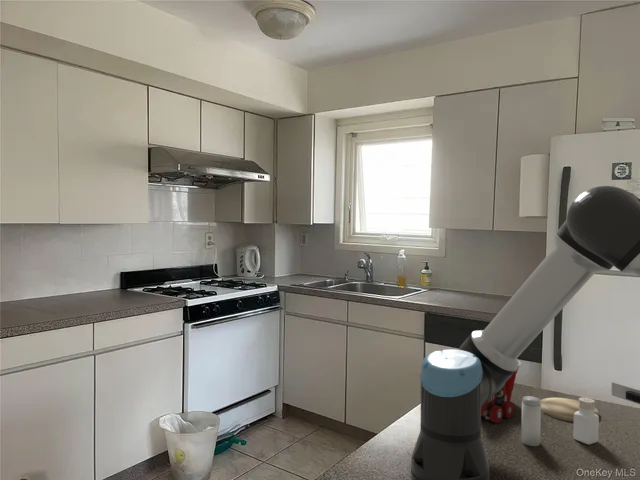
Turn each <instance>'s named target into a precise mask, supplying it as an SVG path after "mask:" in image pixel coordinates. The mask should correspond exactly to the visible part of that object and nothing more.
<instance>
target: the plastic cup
mask: <svg viewBox="0 0 640 480" xmlns="http://www.w3.org/2000/svg"><path fill="white" fill-rule="evenodd" d="M517 360H518V369H517V370H516V371H515V372H514V373H513V375H512V376H511V377H510V378H509V379H508V380H507V381H506V382H505V389H506V392H507V401H509V402H511V399H512V394H513V390H514V385H515V383H516V382H515V381H516V378H517V377H516V376H517V373H518V370H519V368H520V367H521V366H522V362H521V360H519V359H518V358H517Z"/></svg>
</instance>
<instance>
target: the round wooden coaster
mask: <svg viewBox="0 0 640 480" xmlns="http://www.w3.org/2000/svg"><path fill="white" fill-rule="evenodd" d="M540 404H541V413H544V414H545V415H547V416H550V417H552V418H554V419H558V420H562V421H565V422H572V423H574V413H575V412H577V411H579V400H577V399H571V398H566V397H546V398H542V399H540ZM599 413H600V411H599V410H598V409H597V408H596V407H595V409H594V414H596V415H597V416H598V417H599V418H600V415H599Z"/></svg>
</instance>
